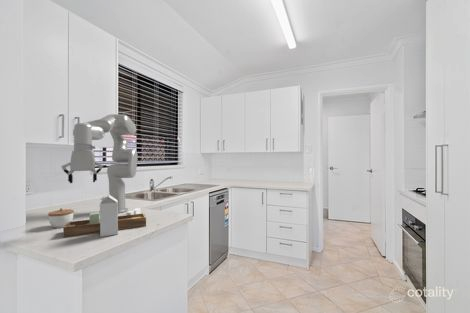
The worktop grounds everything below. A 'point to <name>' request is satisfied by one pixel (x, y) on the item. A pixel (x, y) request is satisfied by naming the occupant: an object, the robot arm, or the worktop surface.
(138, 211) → the napkin holder
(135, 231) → the worktop surface
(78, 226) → the box
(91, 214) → the block
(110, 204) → the milk carton
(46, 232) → the worktop surface
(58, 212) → the lidded jar
